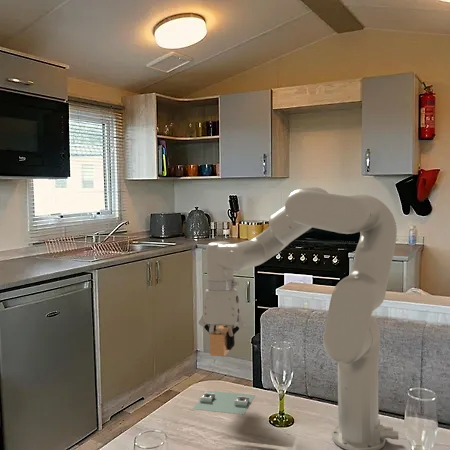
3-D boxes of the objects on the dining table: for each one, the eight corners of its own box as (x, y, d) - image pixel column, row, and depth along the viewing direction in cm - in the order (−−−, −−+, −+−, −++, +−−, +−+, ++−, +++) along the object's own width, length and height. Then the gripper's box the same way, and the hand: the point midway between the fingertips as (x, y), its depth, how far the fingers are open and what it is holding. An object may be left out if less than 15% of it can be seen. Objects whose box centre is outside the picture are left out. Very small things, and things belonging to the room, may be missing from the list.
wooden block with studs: (234, 345, 147) (233, 323, 146) (224, 356, 137) (223, 333, 137) (221, 344, 148) (220, 322, 148) (210, 355, 139) (209, 332, 138)
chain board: (255, 397, 148) (255, 395, 148) (243, 417, 135) (243, 414, 135) (207, 393, 152) (207, 390, 152) (192, 411, 140) (192, 408, 140)
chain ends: (249, 401, 143) (249, 396, 143) (246, 406, 140) (246, 402, 140) (204, 397, 148) (203, 392, 147) (199, 401, 144) (199, 397, 144)
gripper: (252, 283, 142) (254, 345, 144) (197, 281, 147) (200, 342, 149) (245, 288, 135) (247, 354, 136) (188, 287, 140) (190, 350, 142)
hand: (222, 347), depth 143 cm, fingers closed on wooden block with studs, 4 cm apart
